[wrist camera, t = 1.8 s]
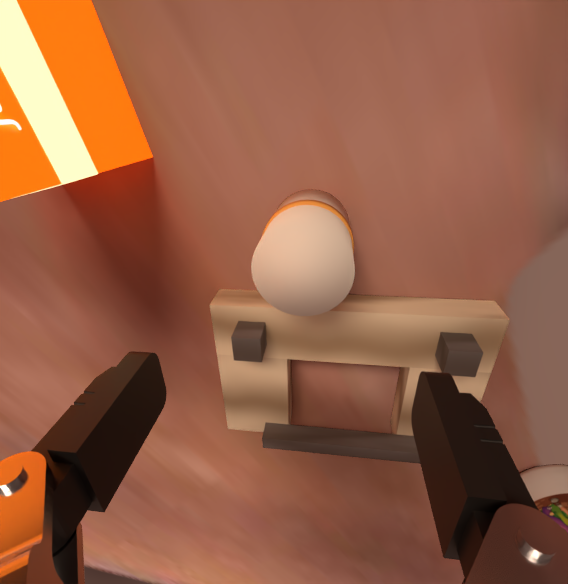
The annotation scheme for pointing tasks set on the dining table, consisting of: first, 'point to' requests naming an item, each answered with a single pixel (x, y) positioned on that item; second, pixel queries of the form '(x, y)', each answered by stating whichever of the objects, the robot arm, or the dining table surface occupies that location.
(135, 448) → the robot arm
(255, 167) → the dining table surface
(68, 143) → the orange juice
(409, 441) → the shelf board
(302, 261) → the orange-banded white cylinder
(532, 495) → the milk bottle
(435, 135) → the dining table surface
